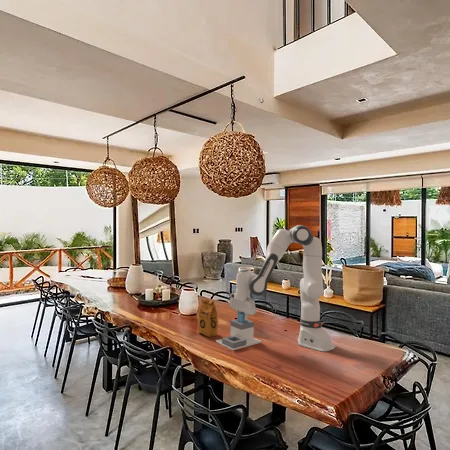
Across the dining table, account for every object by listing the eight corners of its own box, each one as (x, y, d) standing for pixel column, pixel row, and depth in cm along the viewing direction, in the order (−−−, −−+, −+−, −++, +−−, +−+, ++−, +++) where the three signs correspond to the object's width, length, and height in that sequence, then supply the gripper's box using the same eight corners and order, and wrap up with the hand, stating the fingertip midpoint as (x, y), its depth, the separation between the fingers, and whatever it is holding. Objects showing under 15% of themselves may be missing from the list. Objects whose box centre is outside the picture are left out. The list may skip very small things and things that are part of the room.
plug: (246, 326, 209) (247, 311, 209) (241, 327, 207) (242, 312, 207) (242, 324, 213) (242, 310, 213) (237, 325, 210) (237, 311, 210)
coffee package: (207, 338, 209) (208, 302, 209) (195, 333, 219) (196, 298, 219) (220, 335, 216) (220, 300, 216) (208, 330, 225) (209, 296, 225)
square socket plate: (261, 342, 205) (261, 324, 205) (232, 350, 191) (233, 330, 191) (243, 335, 217) (244, 317, 217) (215, 341, 204) (216, 323, 204)
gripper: (258, 298, 203) (257, 322, 203) (236, 292, 219) (235, 314, 220) (250, 300, 199) (249, 323, 200) (228, 293, 215) (228, 315, 216)
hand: (242, 318), depth 210 cm, fingers closed on plug, 4 cm apart
